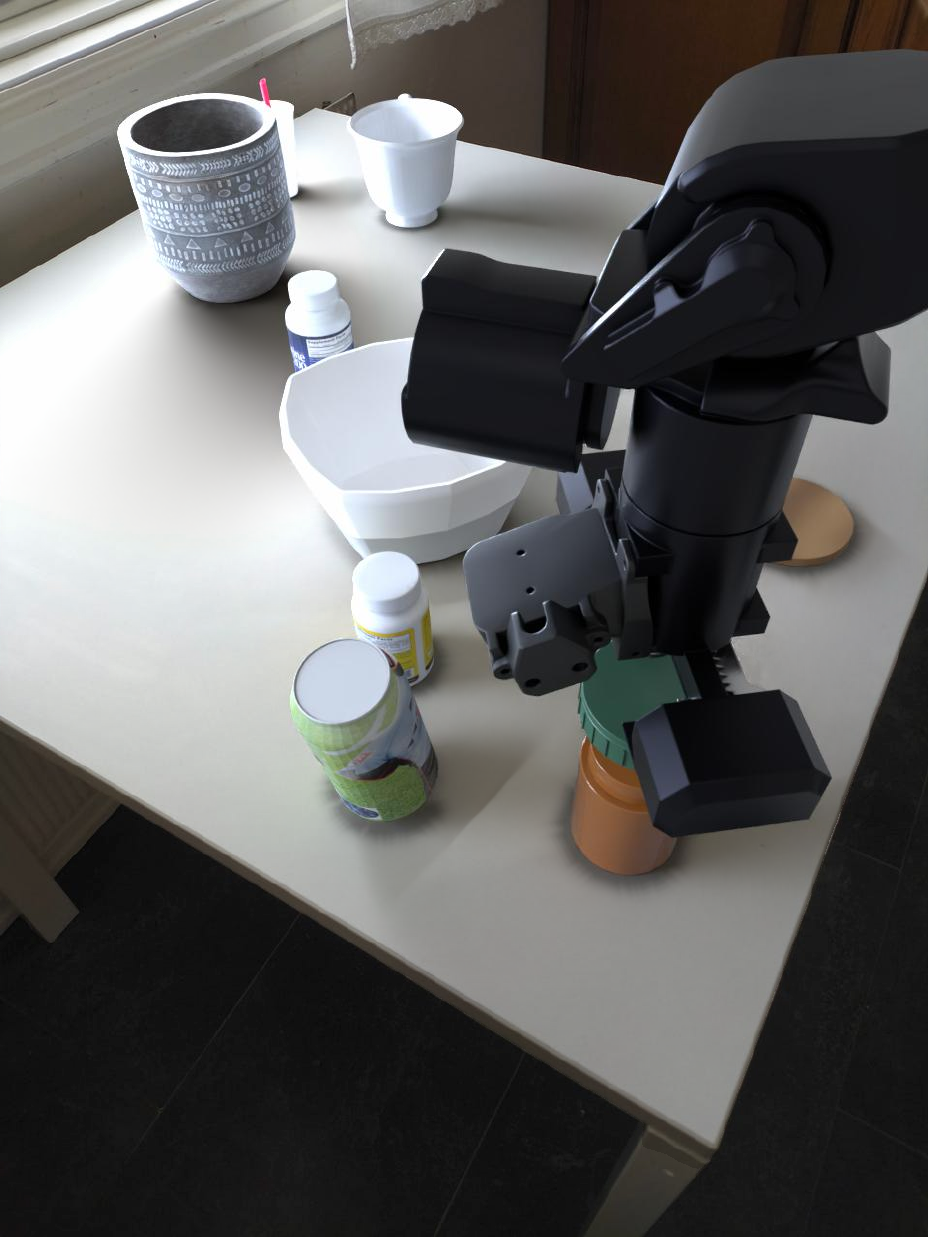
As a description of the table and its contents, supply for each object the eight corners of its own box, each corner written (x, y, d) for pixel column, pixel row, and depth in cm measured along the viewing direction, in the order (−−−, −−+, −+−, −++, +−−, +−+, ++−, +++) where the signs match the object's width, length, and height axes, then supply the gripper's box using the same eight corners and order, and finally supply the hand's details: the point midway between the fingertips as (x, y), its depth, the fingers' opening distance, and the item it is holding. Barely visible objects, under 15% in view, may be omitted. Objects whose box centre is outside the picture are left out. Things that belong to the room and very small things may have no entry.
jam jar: (688, 799, 52) (716, 715, 46) (662, 891, 49) (688, 814, 42) (588, 766, 54) (602, 680, 47) (556, 853, 50) (566, 772, 44)
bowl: (483, 416, 76) (482, 315, 69) (571, 555, 65) (580, 452, 58) (277, 467, 73) (254, 366, 65) (334, 623, 62) (313, 522, 55)
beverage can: (460, 777, 54) (453, 651, 44) (373, 866, 50) (347, 749, 41) (384, 720, 56) (363, 591, 47) (297, 801, 53) (256, 678, 44)
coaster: (857, 499, 69) (861, 491, 68) (842, 580, 63) (845, 572, 63) (738, 472, 71) (741, 464, 70) (714, 547, 66) (716, 539, 65)
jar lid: (558, 747, 42) (561, 723, 40) (600, 641, 46) (604, 615, 44) (704, 795, 40) (712, 772, 38) (735, 680, 44) (743, 655, 42)
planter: (223, 332, 86) (182, 171, 74) (134, 283, 92) (84, 128, 81) (331, 272, 93) (309, 116, 81) (241, 231, 99) (209, 81, 88)
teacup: (461, 178, 106) (459, 85, 99) (468, 239, 97) (467, 140, 89) (359, 183, 106) (349, 90, 99) (356, 244, 96) (344, 146, 89)
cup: (267, 206, 103) (246, 91, 94) (254, 187, 106) (232, 74, 97) (312, 196, 104) (295, 82, 95) (298, 178, 107) (280, 66, 98)
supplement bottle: (401, 623, 62) (390, 534, 55) (449, 661, 59) (444, 573, 53) (347, 662, 59) (329, 575, 53) (394, 704, 57) (382, 617, 51)
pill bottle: (294, 372, 81) (275, 270, 74) (353, 363, 82) (339, 261, 75) (302, 407, 78) (283, 304, 70) (364, 397, 79) (350, 293, 71)
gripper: (446, 354, 37) (456, 604, 49) (525, 727, 25) (513, 938, 37) (707, 330, 38) (655, 581, 50) (904, 680, 26) (774, 902, 38)
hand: (645, 727), depth 44 cm, fingers closed on jar lid, 6 cm apart
